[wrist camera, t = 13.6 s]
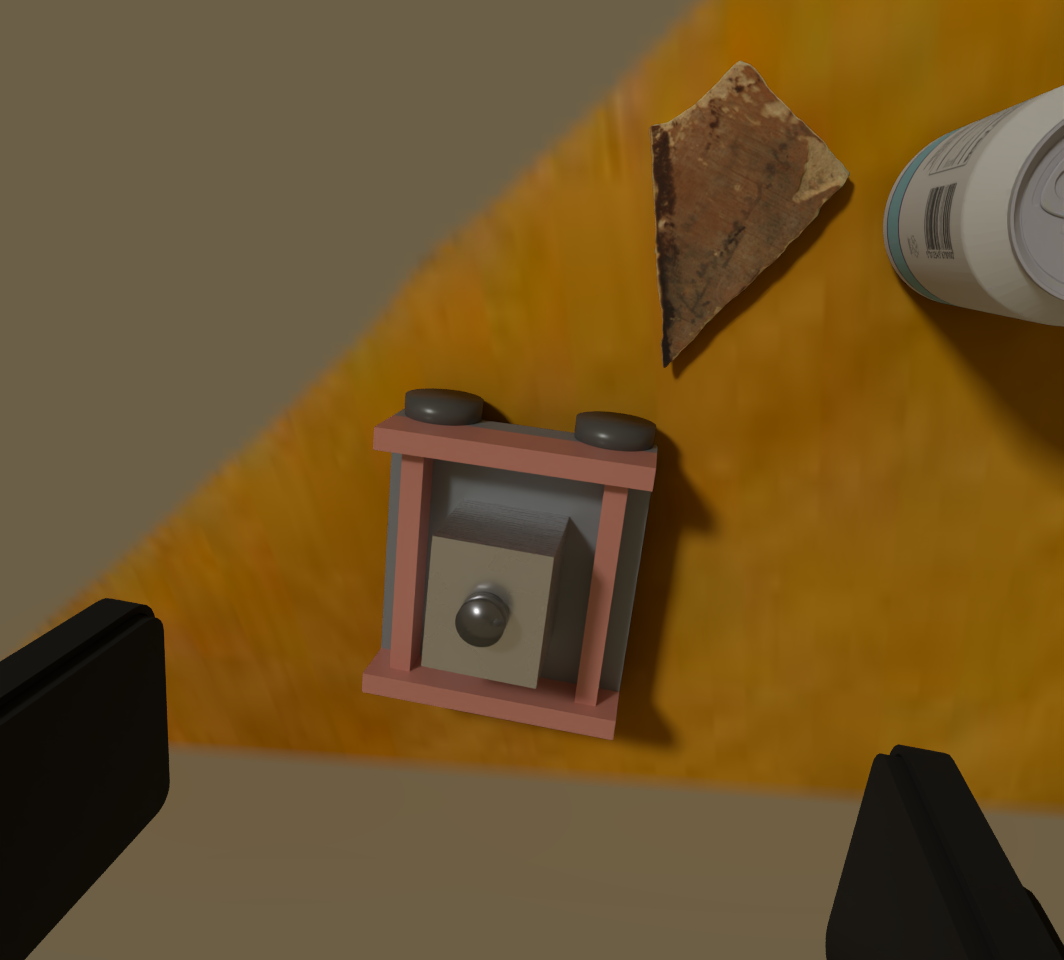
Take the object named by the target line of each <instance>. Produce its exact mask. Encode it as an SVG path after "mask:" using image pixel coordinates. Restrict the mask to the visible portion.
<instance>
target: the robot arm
mask: <svg viewBox="0 0 1064 960" xmlns="http://www.w3.org/2000/svg"><path fill="white" fill-rule="evenodd" d="M169 783H170V779H169V751H168V726H167V701H166V675H165V650H164V629H163V624H162V622H161V620H159V619H158V618H155V616H154V613H153V611H152V609H151V608H150V607H148V606H147V605H143V604H137V603H132V602H127V601H121V600H116V599H109V598H105V599H102V600H100V601H98V602H96V603H94V604H93V605H91V606H89V607H88V608H86V609H85V610H83V611H81V612H80V613H78V614H77V615H75V616H73V617H72V618H70V619H68V620H67V621H65V622H64V623H62V624H60V625H59V626H57V627H55V628H54V629H52V630H51V631H49V632H47V633H46V634H44V635H42V636H41V637H39V638H38V639H36V640H34V641H33V642H31V643H30V644H28V645H26V646H25V647H23V648H21V649H20V650H18V651H17V652H15V653H13V654H12V655H10V656H8V657H7V658H5V659H4V660H2V661H0V960H25V959H26V958H27V956H28V955H29V954H30V953H31V952H32V951H33V950H34V949H35V948H36V947H37V945H38V944H39V943H40V942H41V941H42V940H43V939H44V938H45V937H46V935H47V934H48V933H49V932H50V931H51V930H52V929H53V928H54V927H55V925H56V924H57V923H58V922H59V921H60V920H61V919H62V918H63V917H64V916H65V915H66V914H67V912H68V911H69V910H70V909H71V908H72V907H73V906H74V905H75V904H76V902H77V901H78V900H79V899H80V898H81V897H82V896H83V895H84V894H85V893H86V891H87V890H88V889H89V888H90V887H91V886H92V885H93V884H94V883H95V882H96V880H97V879H98V878H99V877H100V876H101V875H102V874H103V873H104V872H105V871H106V869H107V868H108V867H109V866H110V865H111V864H112V863H113V862H114V860H116V858H117V857H118V856H119V855H120V854H121V853H122V852H123V851H124V850H125V848H126V847H127V846H128V845H129V844H130V843H131V842H132V841H133V840H134V839H135V837H136V836H137V835H138V834H139V833H140V832H141V831H142V830H143V829H144V828H145V827H146V825H147V824H148V823H149V822H150V821H151V820H152V819H153V818H154V817H155V816H156V814H157V813H158V812H159V810H160V809H161V808H162V806H163V804H164V802H165V800H166V797H167V794H168V791H169ZM826 958H827V960H1064V945H1063V943H1062V942H1061V940H1060V938H1059V936H1058V934H1057V933H1056V931H1055V929H1054V927H1053V926H1052V924H1051V922H1050V920H1049V918H1048V917H1047V915H1046V913H1045V911H1044V910H1043V908H1042V906H1041V904H1040V903H1039V901H1038V900H1037V899H1036V897H1035V896H1034V895H1033V893H1032V892H1030V891H1029V890H1028V889H1026V888H1025V887H1023V886H1022V884H1021V882H1020V881H1019V879H1018V877H1017V875H1016V873H1015V871H1014V869H1013V868H1012V866H1011V864H1010V862H1009V860H1008V858H1007V857H1006V855H1005V853H1004V851H1003V850H1002V848H1001V846H1000V844H999V842H998V840H997V838H996V837H995V835H994V833H993V831H992V829H991V828H990V826H989V824H988V822H987V820H986V819H985V817H984V815H983V813H982V811H981V809H980V807H979V806H978V804H977V802H976V800H975V798H974V796H973V795H972V793H971V791H970V789H969V787H968V786H967V784H966V782H965V780H964V778H963V776H962V775H961V773H960V771H959V769H958V767H957V766H956V764H955V762H954V760H953V759H952V758H951V756H950V755H948V754H946V753H942V752H936V751H931V750H925V749H920V748H915V747H909V746H904V745H896V746H894V748H893V749H892V751H891V753H890V755H885V754H878V755H877V756H876V757H875V758H874V761H873V764H872V767H871V771H870V774H869V778H868V781H867V785H866V789H865V792H864V796H863V799H862V803H861V807H860V810H859V814H858V817H857V821H856V825H855V828H854V832H853V835H852V839H851V843H850V846H849V850H848V853H847V857H846V860H845V864H844V868H843V872H842V875H841V878H840V882H839V886H838V890H837V893H836V896H835V900H834V904H833V907H832V911H831V914H830V919H829V922H828V926H827V932H826Z"/></svg>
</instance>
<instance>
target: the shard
mask: <svg viewBox="0 0 1064 960" xmlns="http://www.w3.org/2000/svg"><path fill="white" fill-rule="evenodd" d="M649 137H650V142H651V153H652V180H653V194H654V209H655V227H656V235H655V240H656V247H655V253H656V257H657V258H656V270H657V288H658V292H659V298H660V305H661V313H662V321H663V325H662V330H663V336H662V340H661V351H662V363H663V367H664V368H666V367H667V366H668V364H669V363H670V362H671V361H673V360H674V359H675V358H676V357H677V356H678V355H679V353H680V352H681V351H682V350H683V349H684V348H685V347H686V346H687V345H688V344H689V343H691V342H692V341H693V340H694V339H695V337H696V336H697V335H698V334H699V332H700V331H701V330H702V329H703V327H704V326H705V325H706V323H708V322H709V321H710V320H711V319H712V318H713V317H714V316H715V315H716V314H717V313H718V312H719V311H720V310H721V309H722V308H723V307H724V306H725V305H726V304H727V303H729V302H730V301H731V300H732V299H733V298H735V297H736V296H738V295H739V294H740V293H741V292H743V291H744V290H745V289H746V288H747V287H748V286H749V285H750V284H751V283H752V282H753V281H754V280H755V279H756V278H757V276H758V275H759V274H760V273H761V272H762V271H763V270H764V269H766V268H767V267H768V266H769V265H771V264H772V263H773V262H774V261H775V260H776V259H777V258H778V257H779V256H780V255H781V254H782V253H783V252H784V251H785V250H786V248H787V246H788V245H789V244H790V243H791V242H792V241H794V240H795V239H796V238H798V237H799V236H800V234H801V233H802V231H803V230H804V229H805V228H806V227H807V226H808V225H809V224H810V223H811V222H812V221H813V220H814V219H815V218H816V217H817V216H818V214H819V212H820V209H821V207H822V205H823V204H824V203H825V202H826V201H827V200H828V199H829V198H830V197H832V196H833V195H834V194H835V193H836V192H837V191H838V190H839V189H840V188H842V187H843V185H844V184H845V182H846V179H847V178H848V177H849V175H850V172H849V171H848V170H846V168H845V167H844V165H843V164H842V163H841V162H840V161H839V160H837V159H836V157H835V156H834V154H833V153H832V152H830V150H829V149H828V147H827V145H826V144H825V142H824V141H823V140H822V139H821V138H820V137H818V136H817V135H816V134H815V133H814V132H813V131H812V130H811V129H810V128H809V127H808V126H807V125H806V124H805V123H804V122H803V121H802V120H800V119H799V118H797V117H796V116H795V115H794V114H793V113H792V111H791V110H790V109H789V108H788V107H787V106H786V105H785V104H784V103H783V102H782V101H781V100H780V99H779V98H778V97H777V96H776V95H775V94H774V93H773V92H772V91H771V90H770V89H769V88H768V87H767V85H766V83H765V81H764V79H763V78H762V77H761V76H760V74H759V73H758V72H757V70H756V69H755V68H754V67H753V66H752V65H750V64H747V63H744V62H742V61H739V62H737V63H736V64H735V65H734V66H732V68H731V69H730V70H729V71H727V72H726V73H725V75H724V76H723V77H722V78H721V80H720V81H719V82H718V83H717V84H716V85H714V86H713V88H712V89H711V90H710V91H708V92H707V93H706V94H705V95H704V96H703V98H701V99H700V100H699V101H698V102H697V103H696V104H695V105H694V106H693V107H691V108H689V109H688V110H686V111H685V112H683V113H682V114H680V115H679V116H677V117H675V118H674V119H673V120H671V121H670V122H668V123H664V124H656V125H652V126H651V127H650V128H649Z"/></svg>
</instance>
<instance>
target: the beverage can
mask: <svg viewBox="0 0 1064 960" xmlns="http://www.w3.org/2000/svg"><path fill="white" fill-rule="evenodd" d="M883 236H884V243H885V248H886V251H887V255H888V257H889V260H890V262H891V264H892V266H893V268H894V269H895V271H896V272H897V274H898V275H899V277H900V278H901V279H902V280H903V281H904V282H905V283H906V284H907V285H908V286H909V287H910V288H912V289H913V290H914V291H916V292H917V293H919V294H920V295H922V296H924V297H926V298H928V299H931V300H933V301H937V302H940V303H944V304H949V305H954V306H958V307H963V308H968V309H973V310H978V311H983V312H987V313H992V314H997V315H1002V316H1007V317H1012V318H1016V319H1021V320H1026V321H1031V322H1036V323H1041V324H1046V325H1052V326H1064V85H1063V86H1061V87H1059V88H1056V89H1054V90H1051V91H1049V92H1047V93H1044V94H1042V95H1039V96H1037V97H1034V98H1032V99H1030V100H1027V101H1025V102H1022V103H1020V104H1017V105H1015V106H1013V107H1010V108H1008V109H1005V110H1003V111H1001V112H998V113H996V114H993V115H991V116H988V117H986V118H984V119H981V120H979V121H976V122H974V123H971V124H969V125H967V126H964V127H962V128H959V129H957V130H955V131H952V132H950V133H947V134H945V135H944V136H942V137H940V138H938V139H936V140H935V141H933V142H932V143H930V144H929V145H927V146H926V147H925V148H924V149H922V150H921V151H920V152H919V153H918V154H917V155H916V156H915V157H914V158H913V159H912V160H911V161H910V162H909V163H908V164H907V166H906V167H905V168H904V170H903V171H902V172H901V174H900V175H899V177H898V178H897V180H896V182H895V184H894V186H893V188H892V190H891V193H890V195H889V198H888V201H887V204H886V208H885V213H884V222H883Z"/></svg>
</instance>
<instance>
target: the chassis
mask: <svg viewBox="0 0 1064 960" xmlns="http://www.w3.org/2000/svg"><path fill="white" fill-rule="evenodd" d="M483 401H484V400H483V399H482V398H481V397H479V396H477V395H474V394H471V393H467V392H462V391H456V390H448V389H416V390H411V391H408V392H407V393H406V396H405V409H403V410H402V411H400V412H398V413H397V414H395V415H393V416H392V417H390V418H388V419H387V420H385V421H383V422H382V423H380V424H378V425H377V426H375V427H374V445H373V450H380V451H387V452H392V460H391V478H390V497H389V515H388V534H387V553H386V571H385V590H384V608H383V627H382V646H381V649H380V650H379V652H378V653H377V655H376V656H375V657H374V659H373V660H372V662H371V663H370V664H369V666H368V667H367V668H366V670H365V671H364V673H363V682H362V692H366V693H371V694H376V695H381V696H386V697H392V698H397V699H402V700H407V701H412V702H417V703H423V704H428V705H433V706H438V707H443V708H448V709H454V710H459V711H464V712H469V713H474V714H479V715H485V716H490V717H495V718H500V719H505V720H511V721H516V722H521V723H526V724H531V725H536V726H542V727H547V728H552V729H557V730H562V731H567V732H573V733H578V734H583V735H588V736H593V737H598V738H604V739H609V740H613V736H614V730H615V723H616V716H617V707H618V699H619V691H620V684H621V678H622V672H623V665H624V659H625V653H626V647H627V640H628V634H629V628H630V621H631V615H632V609H633V602H634V596H635V590H636V584H637V577H638V571H639V565H640V558H641V552H642V546H643V539H644V533H645V527H646V521H647V514H648V508H649V502H650V495H651V492H652V491H653V485H654V478H655V472H656V463H657V449H658V445H654V438H655V431H656V425H655V424H654V423H653V422H651V421H649V420H646V419H643V418H640V417H636V416H632V415H627V414H621V413H614V412H600V411H594V412H583V413H580V414H578V415H577V417H576V425H575V433H570V432H563V431H556V430H549V429H542V428H535V427H528V426H521V425H514V424H507V423H500V422H493V421H486V420H482V412H483ZM463 498H464V499H470V500H475V501H481V502H487V503H493V504H499V505H505V506H511V507H517V508H522V509H528V510H534V511H540V512H546V513H552V514H558V515H564V516H569V524H568V531H567V538H566V545H565V552H564V559H563V566H562V574H561V581H560V588H559V595H558V602H557V609H556V616H555V623H554V630H553V635H552V638H551V642H550V645H549V648H548V651H547V655H546V658H545V661H544V664H543V668H542V671H541V674H540V677H539V681H538V684H537V687H536V689H534V688H529V687H524V686H519V685H514V684H509V683H504V682H499V681H494V680H489V679H484V678H479V677H474V676H469V675H464V674H459V673H454V672H449V671H444V670H439V669H434V668H429V667H424V666H421V661H422V650H423V638H424V626H425V615H426V603H427V592H428V580H429V568H430V557H431V545H432V536H433V534H434V533H435V532H436V531H437V530H438V528H439V527H440V526H441V525H442V524H443V522H444V521H445V520H446V519H447V518H448V516H449V515H450V514H451V513H452V511H453V510H454V509H455V508H456V507H457V505H458V504H459V503H460V502H461V501H462V499H463Z"/></svg>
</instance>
